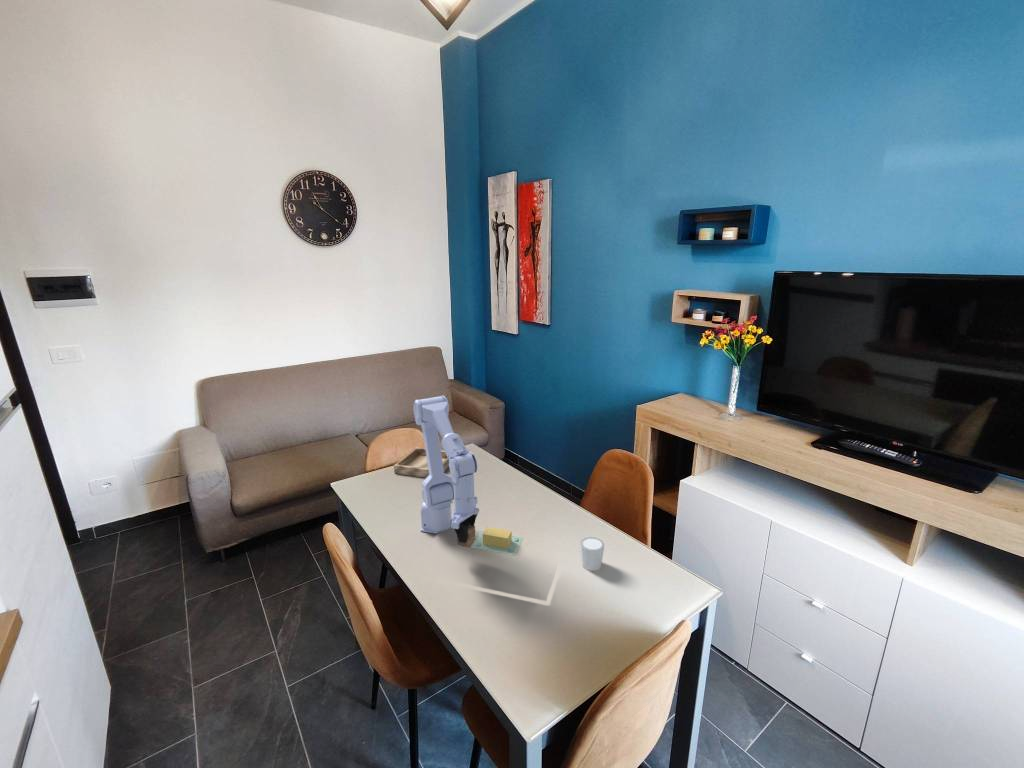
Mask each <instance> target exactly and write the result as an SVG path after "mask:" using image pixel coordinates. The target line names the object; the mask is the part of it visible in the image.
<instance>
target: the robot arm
mask: <svg viewBox="0 0 1024 768" xmlns="http://www.w3.org/2000/svg"><path fill="white" fill-rule="evenodd" d="M449 403H450V402H449V400H448V398H447V397H446V396H445V395H440V396H434V397H428V398H422V399H415V400H414V403H413V405H412V407H413V410H412V411H413V416H414V421H415V424H416V425H417V426H421V430H422V436H423V443H424V448H425V450H426V457H427V464H428V470H429V476H428V477H427V478H424V480H423V481H422V483H421V489H422V490H421V496H422V497H421V498H422V500H423V503H422V504H421V508H420V521H421V522H420V523H421V528H420V532H425V533H430V534H435V535H437V534H438V533H439V532H445V531H447V530H449V529H453V530H454V531H455V533H456V538H457V537H458V540H459V542H462V543H466V542H467V537H468V529H469V526H470V525H472V526H475V524H476V519H477V517H478V514H479V512H480V508H478V507H477V504H478V496H475V476H474V474H475V473H477V472H478V461H477V458H476V456H475V454H474V453H473V452H471V450H469V449H467V447H466V446H465V443H464V442H463V439H462V437H461V435H460V434H458V433H455V431H454V429H453V426H452V424H451V421H450V419H449V412H450V404H449ZM439 435H440V436H441V438H442V440H441V443H440V436H439ZM441 446H442V448H443V451H445V453H446V455H447V457H448V459H449V467H448V469H449V471H450V475H449V474H447V473H445V471H444V468H443V461H442V455H441V450H442V449H441ZM453 501H454V502H453ZM453 503H454V506H453V507H454V508H453V514H452V504H453Z"/></svg>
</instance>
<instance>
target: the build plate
mask: <svg viewBox="0 0 1024 768" xmlns="http://www.w3.org/2000/svg"><path fill="white" fill-rule="evenodd" d="M484 531H485V530H481V531H480V532H479V534H478V535H477V537H475V541H474V543H473V544H472V546H471V547H470V548H473V549H477V550H478V549H479V550H483V551H489V552H494V553H499V554H506V555H511V556H516V554H517V552H518V550H519V547H520V546H521V544H522V542H523V540H524V537H518V536H513V535H512V542H511V543H510V545H509V547H508V549H507V548H502V547H496V546H491V545H485V544H483V533H484Z"/></svg>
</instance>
